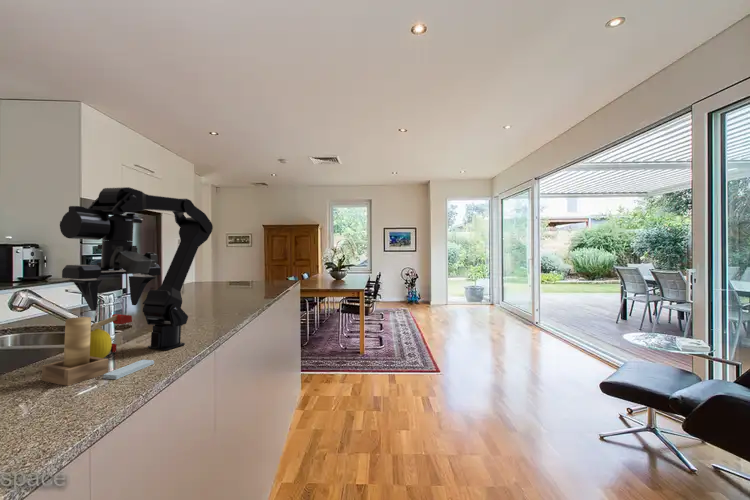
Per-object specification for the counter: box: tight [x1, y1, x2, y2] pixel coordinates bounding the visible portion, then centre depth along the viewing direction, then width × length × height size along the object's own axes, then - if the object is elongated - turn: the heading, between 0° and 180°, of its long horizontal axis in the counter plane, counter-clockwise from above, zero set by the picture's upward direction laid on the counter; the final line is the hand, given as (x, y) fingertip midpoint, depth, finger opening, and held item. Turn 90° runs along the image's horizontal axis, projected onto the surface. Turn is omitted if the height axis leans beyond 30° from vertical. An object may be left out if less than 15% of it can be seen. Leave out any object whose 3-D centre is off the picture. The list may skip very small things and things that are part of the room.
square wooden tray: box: [41, 356, 109, 387], centre depth 70 cm, size 8×8×3 cm
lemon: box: [90, 329, 113, 359], centre depth 79 cm, size 6×6×8 cm
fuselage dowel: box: [63, 316, 92, 368], centre depth 70 cm, size 4×4×11 cm
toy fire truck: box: [91, 313, 133, 356], centre depth 84 cm, size 3×14×10 cm, turn 162°
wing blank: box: [102, 359, 155, 380], centre depth 74 cm, size 10×3×1 cm, turn 173°
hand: (115, 307), depth 79 cm, fingers open, 9 cm apart
